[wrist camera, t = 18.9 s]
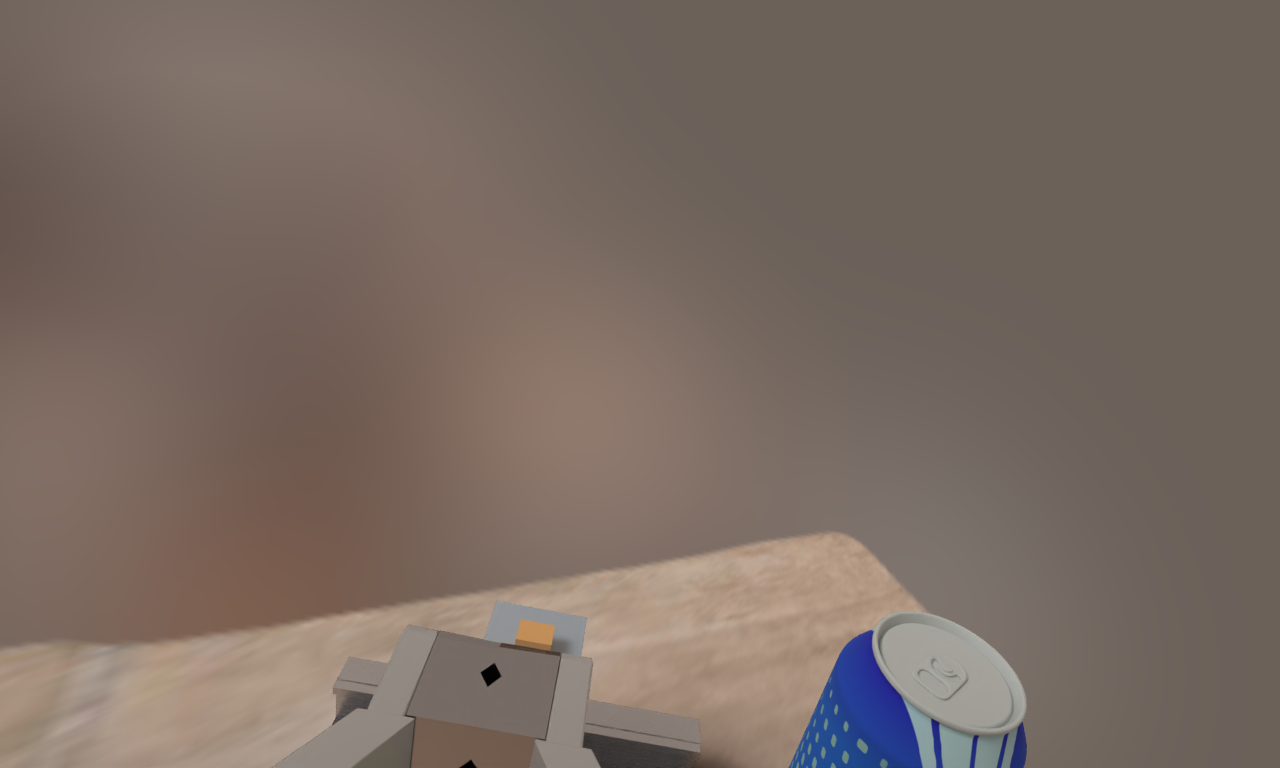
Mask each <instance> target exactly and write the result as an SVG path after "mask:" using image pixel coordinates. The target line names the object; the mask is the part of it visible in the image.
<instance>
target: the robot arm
mask: <svg viewBox="0 0 1280 768" xmlns="http://www.w3.org/2000/svg"><path fill="white" fill-rule="evenodd" d="M592 667H593V662H592V658H587V657H581V656H576V655H570V654H564V653H562V654H561V653H560V652H554V651H548V650H542V649H536V648H530V647H525V646H519V645H513V644H507V643H498V642H493V641H488V640H483V639H479V638H474V637H469V636H464V635H460V634H455V633H450V632H445V631H438V630H433V629H428V628H423V627H419V626H414V625H408V626H407V628H406V629H405V630H404V631H403V633H402V635H401V637H400V639H399V641H398V644H397V646H396V648H395V650H394V652H393V654H392V657H391V659H390V661H389V663H388V665H387V667H386V670H385V672H384V674H383V676H382V678H381V680H380V683H379V685H378V687H377V689H376V691H375V693H374V696H373V698H372V700H371V702H370V704H369V706H368V708H367V709H360V708H357V709H355V710H354V711H352V712H351V713H350V714H348V715H347V716H345V717H344V718H342V719H341V720H340V721H338V722H337V723H335V724H334V725H332V726H331V727H329V728H328V729H327V730H325V731H324V732H322V733H321V734H319V735H318V736H316V737H315V738H314V739H312V740H311V741H309V742H308V743H306V744H305V745H304V746H302V747H301V748H299V749H298V750H296V751H295V752H293V753H292V754H291V755H289V756H288V757H286V758H285V759H283V760H282V761H281V762H279V763H278V764H276V765H275V766H273V767H272V768H601V767H600V765H599V763H598V761H597V759H596V757H595V755H594V753H593V751H592V750H591V749H587V748H582V747H583V739H584V731H585V723H586V715H587V707H588V699H589V691H590V683H591V675H592Z"/></svg>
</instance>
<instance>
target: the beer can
mask: <svg viewBox="0 0 1280 768" xmlns="http://www.w3.org/2000/svg"><path fill="white" fill-rule="evenodd" d="M1026 710H1027V700H1026V695H1025V692H1024V689H1023V686H1022V684H1021V682H1020V680H1019V678H1018V676H1017V675H1016V673H1015V672H1014V670H1013V669H1012V668H1011V666H1010V665H1009V664H1008V663H1007V661H1006V660H1005V659H1004V658H1003V657H1002V656H1001V655H1000V654H999V653H998V652H997V651H996V650H995V649H994V648H993V647H991V646H990V645H989V644H988V643H987V642H985V641H984V640H983V639H981V638H980V637H978V636H977V635H975V634H974V633H972V632H971V631H969V630H967V629H966V628H964V627H962V626H960V625H958V624H956V623H954V622H952V621H950V620H947V619H945V618H942V617H939V616H936V615H933V614H928V613H924V612H917V611H901V612H896V613H892V614H890V615H888V616H886V617H884V618H883V619H882V620H881V621H880V622H879V623H878V624H877V626H876V628H875V629H872V630H870V631H867V632H865V633H863V634H860V635H858V636H857V637H855V638H854V639H852V640H851V641H850V642H849V643H848V644H847V645H846V646H845V647H844V648H843V650H842V652H841V653H840V655H839V657H838V659H837V661H836V664H835V666H834V668H833V670H832V673H831V675H830V677H829V679H828V682H827V684H826V686H825V688H824V691H823V693H822V695H821V697H820V699H819V702H818V704H817V706H816V708H815V711H814V713H813V715H812V717H811V720H810V722H809V724H808V726H807V728H806V731H805V733H804V735H803V737H802V740H801V742H800V744H799V746H798V749H797V751H796V753H795V755H794V758H793V760H792V762H791V764H790V766H789V768H1023V767H1024V765H1025V760H1026V748H1027V745H1026V738H1025V732H1024V726H1023V719H1024V717H1025V715H1026Z"/></svg>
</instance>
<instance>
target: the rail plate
mask: <svg viewBox="0 0 1280 768" xmlns="http://www.w3.org/2000/svg"><path fill="white" fill-rule="evenodd" d="M387 665H388V663H382V662H377V661H371V660H365V659H360V658H354V657H349V658H348V660H347V661H346V663H345V665H344V667H343V669H342V671H341V673H340V675H339V677H338V678H337V680H336V682H335V684H334V686H333V694H336V718H335V720H334V722H333V724H332V725H334V724H335V723H337V722H338V721H340V720H341V719H342V718H344V717H345V716H347V715H348V714H350V713H351V712H352V711H354V710H355V709H357V708H360V709H367V708H368V706H369V704H370V702H371V700H372V698H373V696H374V693H375V691H376V689H377V687H378V685H379V683H380V680H381V678H382V676H383V674H384V672H385V670H386V667H387ZM582 748H587V749H591V750H592V751H593V753H594V755H595V757H596V759H597V761H598V763H599V765H600V767H601V768H692V766H693V764H694V761H695V758H697V759H699V756H700V753H701V749H700V725H699V720H698V719H692V718H687V717H681V716H676V715H670V714H665V713H659V712H653V711H648V710H642V709H637V708H631V707H626V706H620V705H615V704H609V703H604V702H598V701H593V700H588V707H587V715H586V723H585V731H584V739H583V747H582Z"/></svg>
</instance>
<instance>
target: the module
mask: <svg viewBox="0 0 1280 768" xmlns="http://www.w3.org/2000/svg"><path fill="white" fill-rule="evenodd" d="M586 620H587V618H586V617H581V616H576V615H570V614H565V613H559V612H554V611H549V610H543V609H538V608H533V607H527V606H522V605H516V604H511V603H506V602H500V601H496V603H495V606H494V609H493V613H492V616H491V619H490V622H489V625H488V628H487V632H486V635H485V638H484V640H488V641H493V642H498V643H507V644H513V645H519V646H525V647H530V648H536V649H542V650H548V651H554V652H560V653H561V654H562V653H564V654H570V655H576V656H581V654H582V648H583V641H584V634H585V627H586Z"/></svg>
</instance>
